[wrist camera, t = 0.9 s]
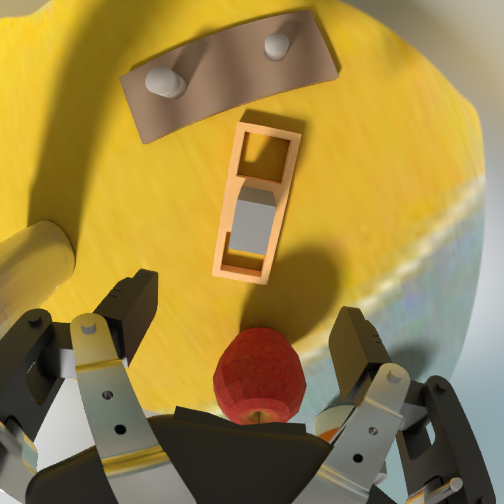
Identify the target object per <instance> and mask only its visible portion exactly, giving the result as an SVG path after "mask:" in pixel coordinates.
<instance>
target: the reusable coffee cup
mask: <svg viewBox="0 0 504 504" xmlns="http://www.w3.org/2000/svg"><path fill="white" fill-rule="evenodd" d="M353 407H354V406H352V405H340V406H335V407H332V408H329V409H327V410H325V411H323V412H321V413H320V414H318V415H317V416H316V417H315V419H314V421H313V435H315V436H317V437H320V438H322V439H323V440H325V441H327V442H328V443H329V442H330V441H331V439H332V438H333V436H334V435H335V434H336V432H337V431H338V429H339V428H340V426H341V425H342V423H343V422H344V420H345V419H346V417H347V416H348V414H349V412H350V411H351V410H352V408H353ZM386 478H387V470H386V462H385V461H384V463H383V465H382V467H381V469H380V471H379V473H378V475H377V477H376V479H375V481H374V483H373V484H375V485H376V486H377V485H378V484H380V483H381V482H383V481H384V480H385V479H386Z"/></svg>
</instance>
